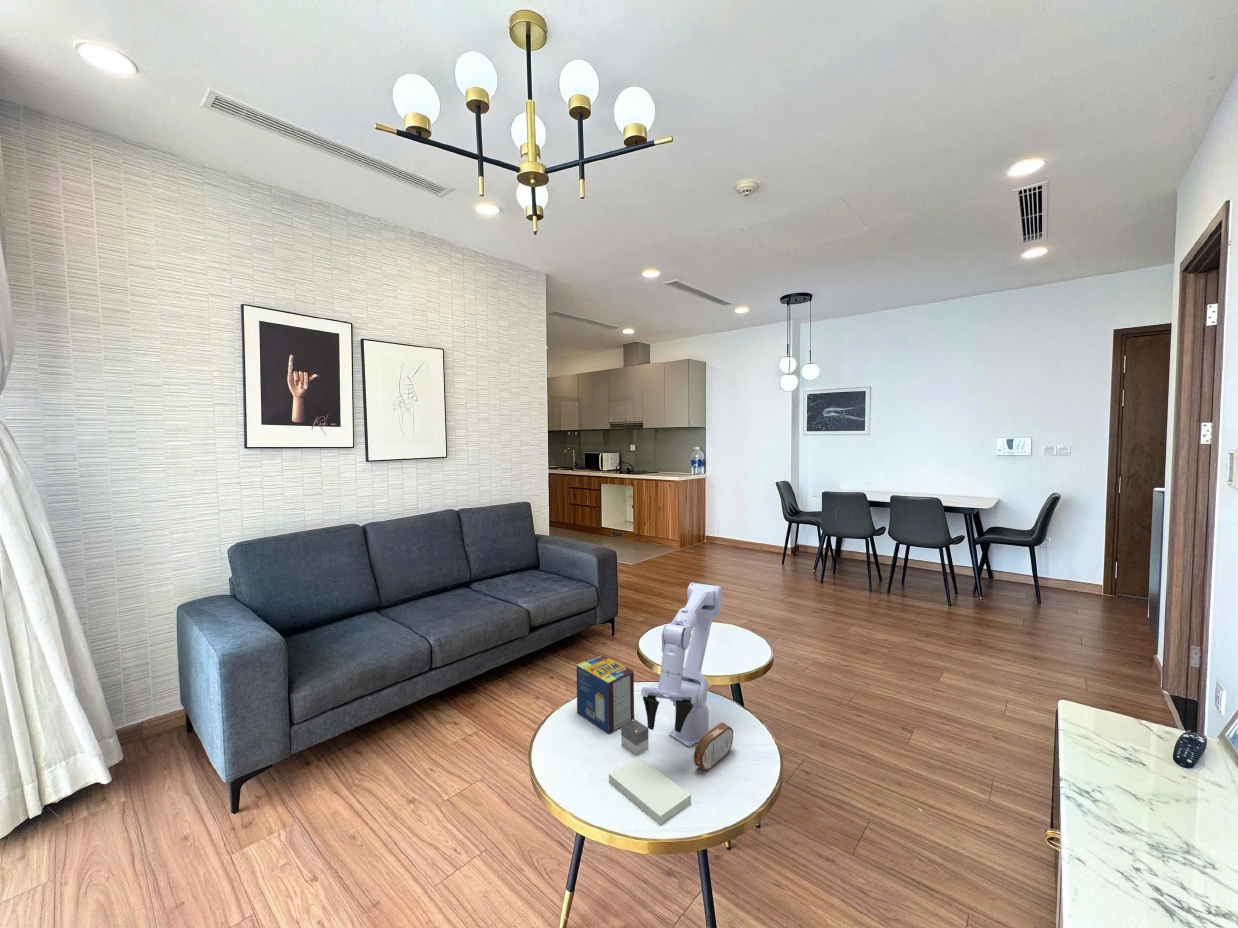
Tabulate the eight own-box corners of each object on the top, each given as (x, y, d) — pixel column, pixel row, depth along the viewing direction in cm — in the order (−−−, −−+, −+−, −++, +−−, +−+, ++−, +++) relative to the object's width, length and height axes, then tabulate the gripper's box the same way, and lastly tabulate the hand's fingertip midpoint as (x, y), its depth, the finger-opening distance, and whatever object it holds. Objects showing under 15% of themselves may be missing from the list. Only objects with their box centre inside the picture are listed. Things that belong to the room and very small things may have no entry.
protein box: (601, 700, 161) (601, 653, 160) (634, 720, 149) (634, 670, 148) (576, 713, 154) (575, 664, 153) (608, 734, 142) (608, 682, 141)
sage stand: (638, 764, 129) (638, 756, 129) (690, 802, 116) (690, 794, 116) (609, 781, 123) (608, 773, 123) (660, 824, 109) (660, 816, 109)
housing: (633, 738, 140) (633, 717, 140) (648, 749, 136) (648, 726, 135) (621, 745, 137) (621, 723, 137) (636, 756, 133) (635, 733, 132)
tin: (725, 745, 137) (725, 716, 136) (735, 750, 135) (735, 720, 134) (692, 772, 126) (692, 740, 126) (702, 778, 124) (702, 745, 124)
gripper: (652, 671, 123) (644, 731, 119) (703, 678, 127) (697, 737, 123) (641, 667, 129) (633, 723, 126) (690, 673, 134) (683, 729, 130)
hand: (664, 729), depth 125 cm, fingers open, 7 cm apart
